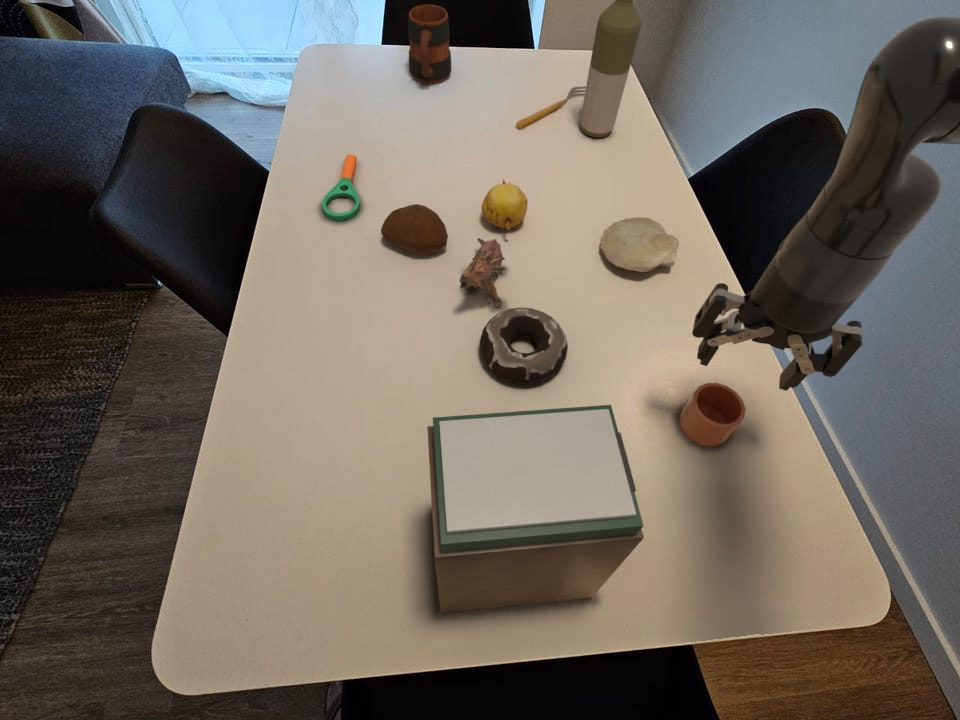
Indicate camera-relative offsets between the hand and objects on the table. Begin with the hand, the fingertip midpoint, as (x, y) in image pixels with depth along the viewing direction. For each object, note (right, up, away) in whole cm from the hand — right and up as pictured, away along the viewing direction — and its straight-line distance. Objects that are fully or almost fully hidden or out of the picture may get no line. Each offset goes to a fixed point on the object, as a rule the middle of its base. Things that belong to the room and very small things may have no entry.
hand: (743, 371), depth 62 cm
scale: (-25, -8, -17) cm, 31 cm away
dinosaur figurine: (-28, +12, +22) cm, 38 cm away
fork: (-14, +50, +49) cm, 72 cm away
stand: (-26, -20, 0) cm, 32 cm away
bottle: (-7, +45, +46) cm, 65 cm away
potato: (-39, +19, +27) cm, 51 cm away
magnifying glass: (-52, +30, +33) cm, 68 cm away
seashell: (-4, +18, +27) cm, 33 cm away
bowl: (0, -7, +10) cm, 12 cm away
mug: (-39, +59, +54) cm, 89 cm away
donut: (-23, +2, +15) cm, 28 cm away
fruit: (-25, +24, +30) cm, 46 cm away
